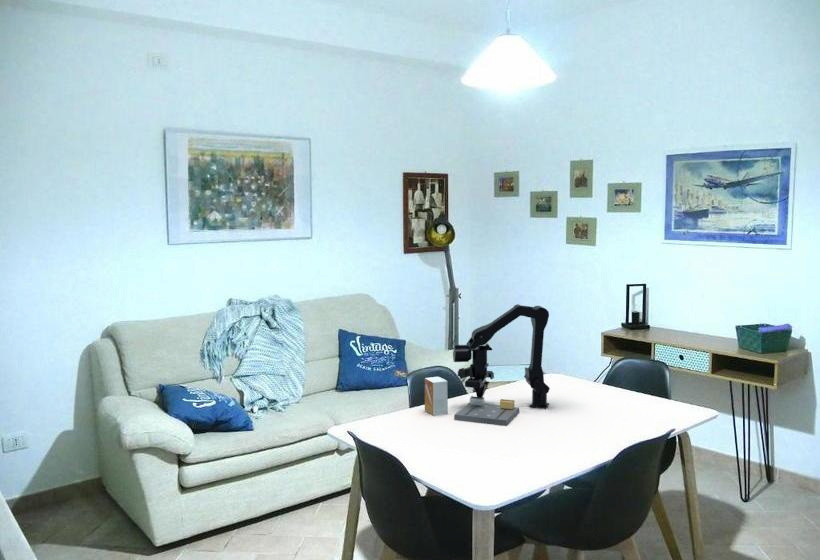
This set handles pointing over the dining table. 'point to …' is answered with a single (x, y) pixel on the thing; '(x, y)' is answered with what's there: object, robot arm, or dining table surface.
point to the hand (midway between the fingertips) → (479, 400)
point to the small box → (436, 396)
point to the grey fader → (477, 401)
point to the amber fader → (507, 404)
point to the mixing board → (487, 414)
